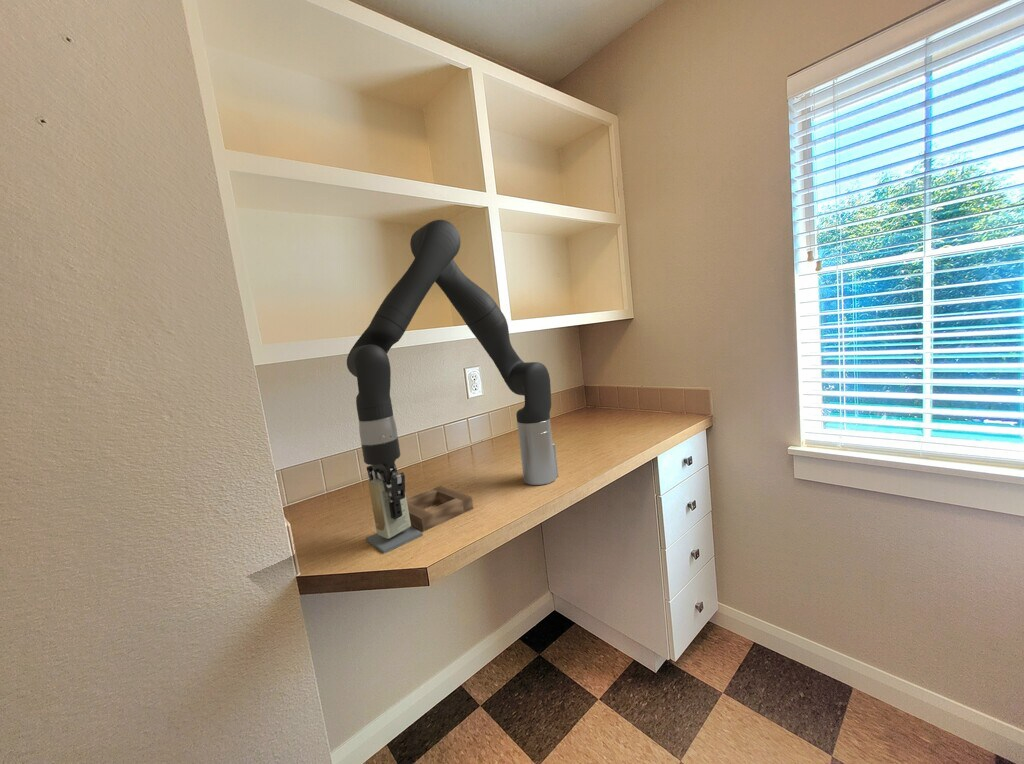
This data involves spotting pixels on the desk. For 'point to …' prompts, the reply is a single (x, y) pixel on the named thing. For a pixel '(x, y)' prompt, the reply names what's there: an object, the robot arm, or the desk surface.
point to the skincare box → (387, 511)
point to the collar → (449, 508)
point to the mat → (393, 539)
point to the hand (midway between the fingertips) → (391, 514)
